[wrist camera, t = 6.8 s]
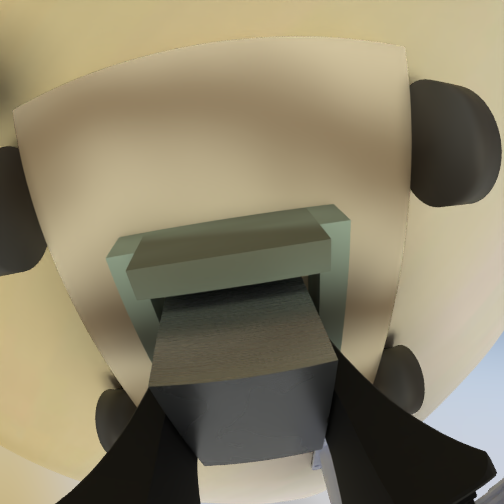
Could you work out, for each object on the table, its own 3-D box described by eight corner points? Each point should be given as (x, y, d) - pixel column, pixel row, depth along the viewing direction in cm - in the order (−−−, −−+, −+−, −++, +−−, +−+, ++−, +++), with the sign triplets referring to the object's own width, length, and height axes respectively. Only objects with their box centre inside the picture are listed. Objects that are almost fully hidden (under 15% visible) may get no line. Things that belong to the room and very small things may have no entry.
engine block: (293, 349, 12) (322, 449, 8) (203, 362, 12) (204, 465, 8) (288, 249, 10) (338, 360, 6) (172, 267, 10) (148, 386, 5)
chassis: (380, 385, 18) (403, 434, 14) (141, 422, 17) (135, 475, 13) (419, 55, 8) (497, 51, 4) (3, 121, 8) (-70, 142, 4)
